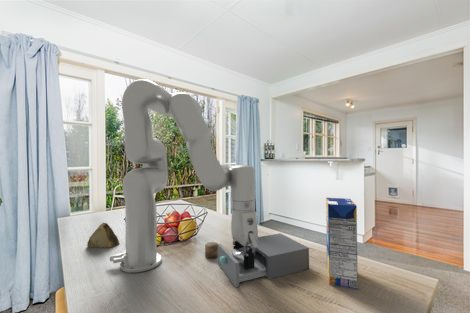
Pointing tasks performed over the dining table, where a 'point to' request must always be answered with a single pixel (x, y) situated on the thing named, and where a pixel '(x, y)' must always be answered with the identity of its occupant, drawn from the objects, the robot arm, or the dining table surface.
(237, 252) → the silver round disc
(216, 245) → the brown rounded lump
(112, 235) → the rock
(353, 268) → the beverage box
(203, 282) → the dining table surface
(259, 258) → the grey drawer
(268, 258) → the housing
